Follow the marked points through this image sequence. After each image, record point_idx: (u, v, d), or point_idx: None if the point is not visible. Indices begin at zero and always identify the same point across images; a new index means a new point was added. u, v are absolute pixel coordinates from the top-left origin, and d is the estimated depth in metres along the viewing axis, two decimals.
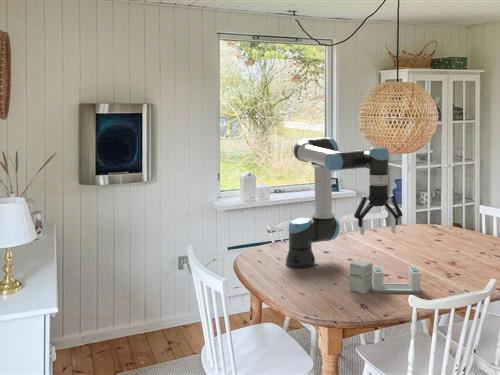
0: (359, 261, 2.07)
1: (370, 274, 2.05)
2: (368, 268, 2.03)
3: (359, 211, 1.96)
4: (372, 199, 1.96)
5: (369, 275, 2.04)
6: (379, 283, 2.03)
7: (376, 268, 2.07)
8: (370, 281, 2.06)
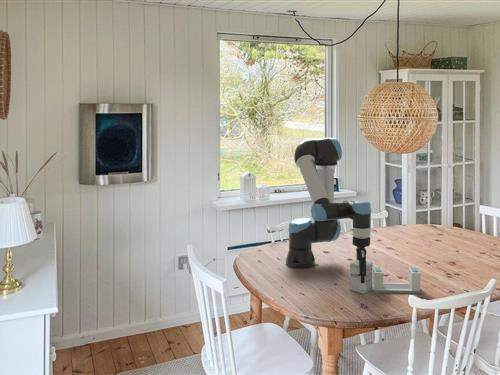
0: None
1: (370, 274, 2.05)
2: (368, 268, 2.03)
3: None
4: None
5: (369, 275, 2.04)
6: (379, 283, 2.03)
7: (376, 268, 2.07)
8: (370, 281, 2.06)
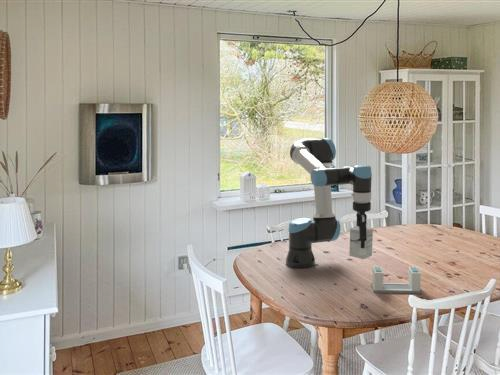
0: None
1: (370, 240, 2.03)
2: (369, 233, 2.01)
3: None
4: (358, 213, 2.05)
5: (369, 240, 2.02)
6: (379, 283, 2.03)
7: (376, 268, 2.07)
8: (370, 247, 2.03)
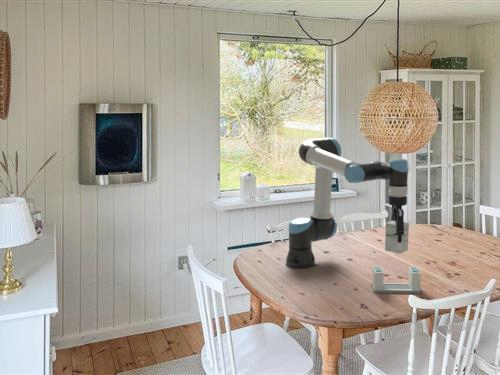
0: (395, 221, 2.03)
1: (406, 234, 2.01)
2: (405, 227, 2.00)
3: (391, 218, 2.09)
4: (393, 207, 2.04)
5: (405, 235, 2.01)
6: (379, 283, 2.03)
7: (376, 268, 2.07)
8: (406, 241, 2.02)
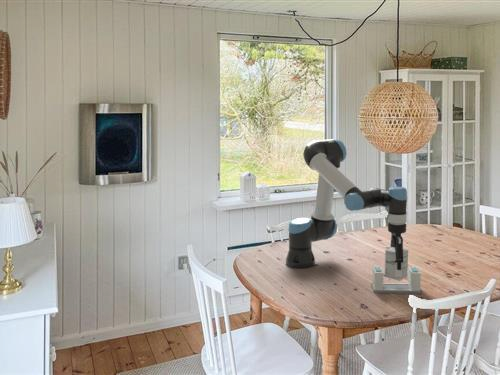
0: (394, 248, 2.05)
1: (406, 261, 2.03)
2: (404, 254, 2.02)
3: None
4: (393, 234, 2.06)
5: (405, 262, 2.03)
6: (379, 283, 2.03)
7: (376, 268, 2.07)
8: (406, 268, 2.04)
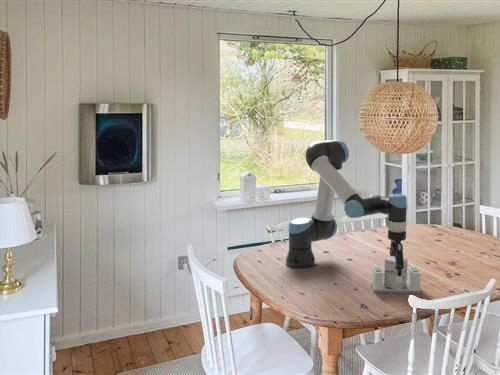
0: (394, 257, 2.06)
1: (405, 270, 2.04)
2: (404, 264, 2.03)
3: (390, 248, 2.13)
4: (392, 241, 2.06)
5: (404, 271, 2.04)
6: (379, 283, 2.03)
7: (376, 268, 2.07)
8: (405, 277, 2.05)
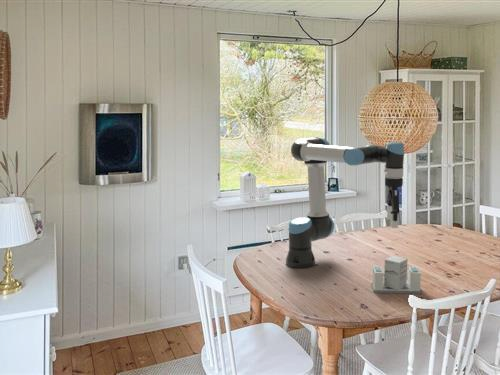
0: (394, 257, 2.06)
1: (405, 270, 2.04)
2: (403, 264, 2.03)
3: (387, 197, 2.18)
4: (390, 189, 2.12)
5: (404, 271, 2.04)
6: (379, 283, 2.03)
7: (376, 268, 2.07)
8: (405, 277, 2.05)
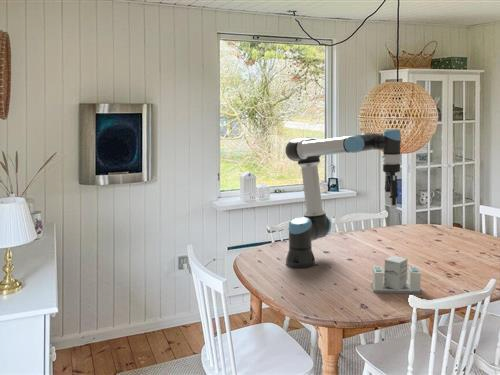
0: (394, 257, 2.06)
1: (405, 270, 2.04)
2: (403, 264, 2.03)
3: (385, 183, 2.25)
4: (387, 175, 2.18)
5: (404, 271, 2.04)
6: (379, 283, 2.03)
7: (376, 268, 2.07)
8: (405, 277, 2.05)
